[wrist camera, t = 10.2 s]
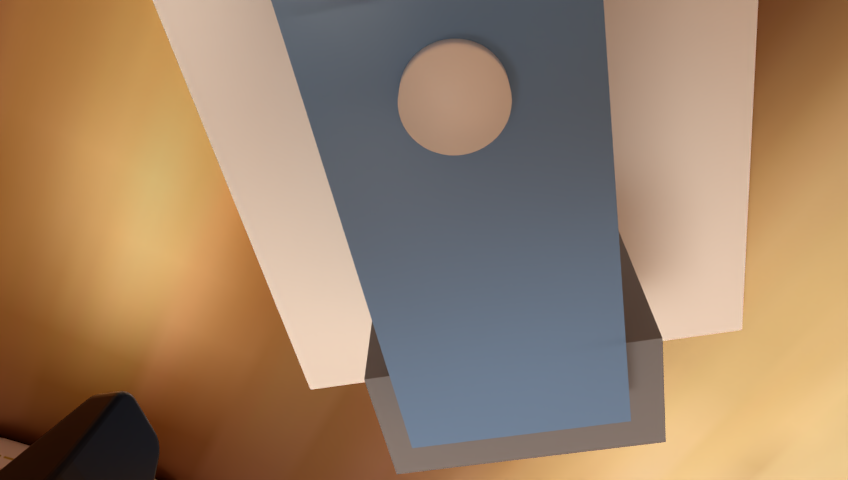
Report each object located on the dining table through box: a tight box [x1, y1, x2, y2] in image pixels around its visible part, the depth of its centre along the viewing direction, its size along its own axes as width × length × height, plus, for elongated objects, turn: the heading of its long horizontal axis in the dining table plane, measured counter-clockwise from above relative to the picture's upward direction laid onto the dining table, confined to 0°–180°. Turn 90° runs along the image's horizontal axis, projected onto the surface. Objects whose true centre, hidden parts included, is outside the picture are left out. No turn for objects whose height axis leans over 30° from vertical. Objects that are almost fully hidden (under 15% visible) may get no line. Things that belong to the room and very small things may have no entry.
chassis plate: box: [153, 0, 758, 474], centre depth 14 cm, size 13×18×6 cm
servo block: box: [271, 0, 631, 448], centre depth 13 cm, size 4×11×6 cm, turn 12°
